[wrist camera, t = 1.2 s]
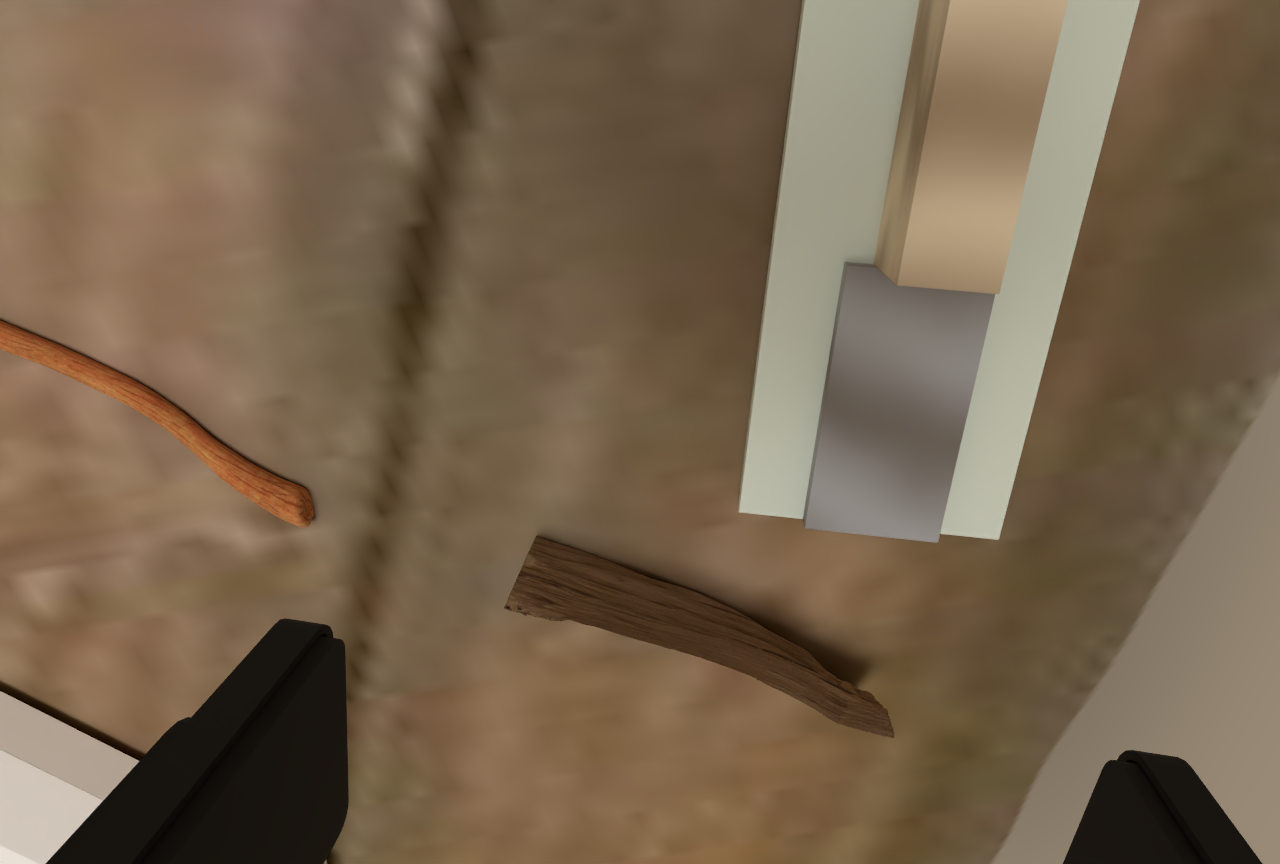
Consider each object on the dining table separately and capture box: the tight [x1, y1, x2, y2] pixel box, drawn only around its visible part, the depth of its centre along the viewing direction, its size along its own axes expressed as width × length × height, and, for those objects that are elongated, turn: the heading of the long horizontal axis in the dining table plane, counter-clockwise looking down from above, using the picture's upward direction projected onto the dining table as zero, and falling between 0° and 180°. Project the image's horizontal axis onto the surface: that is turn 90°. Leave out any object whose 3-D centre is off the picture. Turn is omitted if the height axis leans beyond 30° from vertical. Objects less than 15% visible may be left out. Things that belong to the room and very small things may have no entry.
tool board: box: [738, 0, 1140, 540], centre depth 28 cm, size 22×10×1 cm, turn 176°
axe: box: [0, 320, 314, 527], centre depth 32 cm, size 22×6×2 cm, turn 58°
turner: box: [803, 0, 1068, 543], centre depth 26 cm, size 20×5×4 cm, turn 176°
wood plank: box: [504, 536, 894, 738], centre depth 32 cm, size 15×2×5 cm, turn 69°
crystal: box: [0, 691, 327, 864], centre depth 40 cm, size 7×7×24 cm
